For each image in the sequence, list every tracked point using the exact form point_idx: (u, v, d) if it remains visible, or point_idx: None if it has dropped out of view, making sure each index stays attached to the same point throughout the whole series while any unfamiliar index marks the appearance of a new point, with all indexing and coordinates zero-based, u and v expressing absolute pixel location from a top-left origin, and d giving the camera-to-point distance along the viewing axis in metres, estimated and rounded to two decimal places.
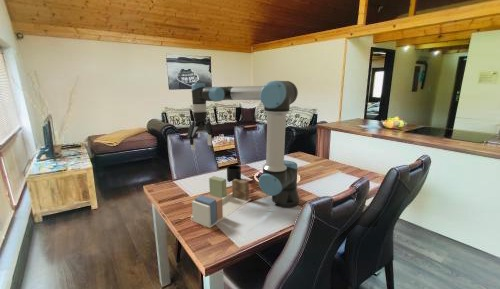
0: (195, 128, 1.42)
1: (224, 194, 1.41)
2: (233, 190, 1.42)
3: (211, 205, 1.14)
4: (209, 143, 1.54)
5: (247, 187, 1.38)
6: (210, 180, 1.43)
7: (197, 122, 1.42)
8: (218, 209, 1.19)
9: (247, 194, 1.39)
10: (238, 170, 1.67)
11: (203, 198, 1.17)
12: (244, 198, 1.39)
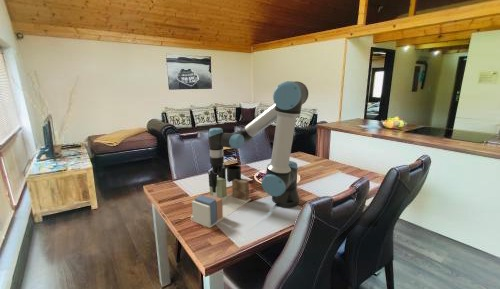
0: (214, 175, 1.39)
1: (223, 193, 1.41)
2: (233, 190, 1.42)
3: (211, 205, 1.14)
4: None
5: (247, 187, 1.38)
6: None
7: (214, 168, 1.37)
8: (218, 209, 1.19)
9: (247, 194, 1.39)
10: (238, 170, 1.67)
11: (203, 198, 1.17)
12: (244, 198, 1.39)
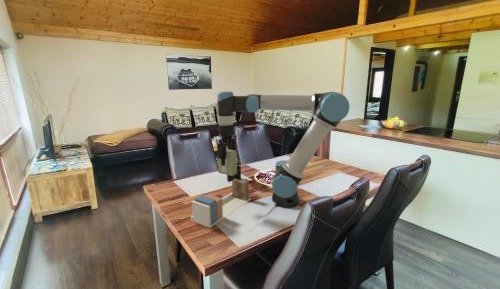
0: (223, 146, 1.23)
1: (234, 167, 1.25)
2: (233, 190, 1.42)
3: (211, 205, 1.14)
4: None
5: (247, 187, 1.38)
6: None
7: (223, 137, 1.21)
8: (218, 209, 1.19)
9: (247, 194, 1.39)
10: (238, 170, 1.67)
11: (203, 198, 1.17)
12: (244, 198, 1.39)
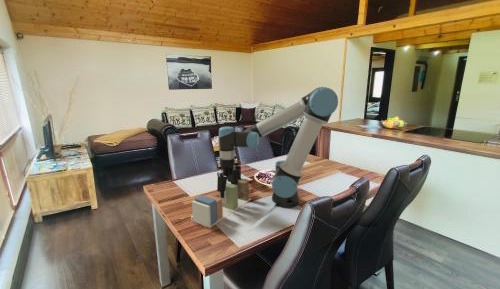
0: (224, 178, 1.26)
1: (235, 201, 1.29)
2: None
3: (211, 205, 1.14)
4: None
5: (247, 187, 1.38)
6: None
7: (225, 171, 1.25)
8: (218, 209, 1.19)
9: (247, 194, 1.39)
10: (238, 170, 1.67)
11: (203, 198, 1.17)
12: (244, 198, 1.39)
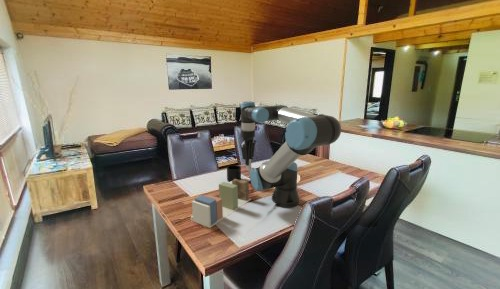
0: (246, 149, 1.41)
1: (235, 201, 1.29)
2: None
3: (211, 205, 1.14)
4: None
5: (247, 187, 1.38)
6: (220, 186, 1.30)
7: (246, 141, 1.39)
8: (218, 209, 1.19)
9: (247, 194, 1.39)
10: (238, 170, 1.67)
11: (203, 198, 1.17)
12: (244, 198, 1.39)
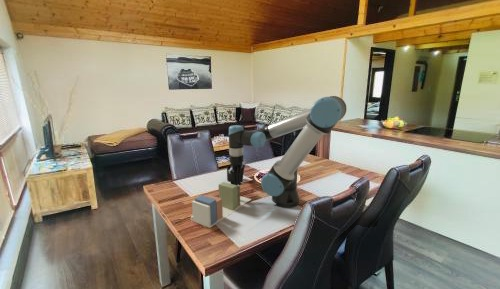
0: (234, 174, 1.35)
1: (234, 201, 1.29)
2: None
3: (211, 205, 1.14)
4: None
5: (238, 192, 1.32)
6: (220, 187, 1.30)
7: (234, 167, 1.32)
8: (218, 209, 1.19)
9: (238, 200, 1.33)
10: None
11: (203, 198, 1.17)
12: None
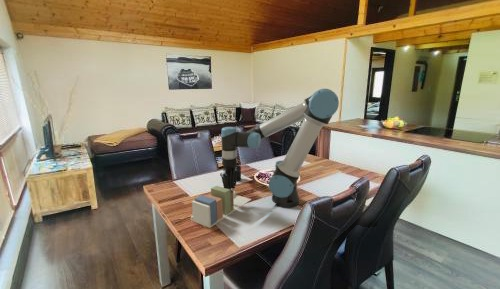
0: (228, 178, 1.30)
1: (227, 206, 1.24)
2: None
3: (211, 205, 1.14)
4: None
5: (231, 196, 1.27)
6: (212, 191, 1.26)
7: (227, 170, 1.27)
8: (218, 209, 1.19)
9: (232, 204, 1.28)
10: (238, 170, 1.67)
11: (203, 198, 1.17)
12: None
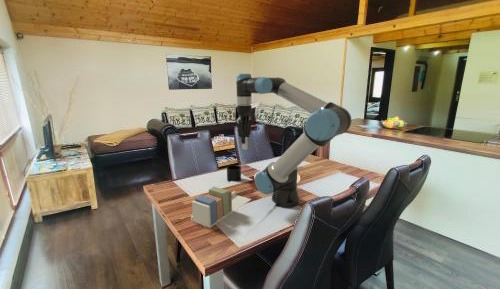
0: (242, 125, 1.31)
1: (225, 207, 1.23)
2: None
3: (211, 205, 1.14)
4: None
5: (230, 198, 1.26)
6: (210, 192, 1.24)
7: (242, 117, 1.29)
8: (218, 209, 1.19)
9: (230, 205, 1.27)
10: (238, 170, 1.67)
11: (203, 198, 1.17)
12: None
